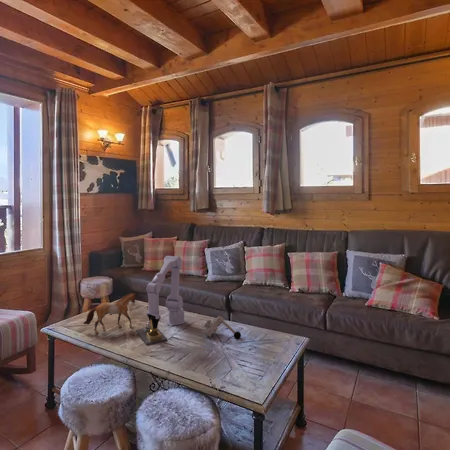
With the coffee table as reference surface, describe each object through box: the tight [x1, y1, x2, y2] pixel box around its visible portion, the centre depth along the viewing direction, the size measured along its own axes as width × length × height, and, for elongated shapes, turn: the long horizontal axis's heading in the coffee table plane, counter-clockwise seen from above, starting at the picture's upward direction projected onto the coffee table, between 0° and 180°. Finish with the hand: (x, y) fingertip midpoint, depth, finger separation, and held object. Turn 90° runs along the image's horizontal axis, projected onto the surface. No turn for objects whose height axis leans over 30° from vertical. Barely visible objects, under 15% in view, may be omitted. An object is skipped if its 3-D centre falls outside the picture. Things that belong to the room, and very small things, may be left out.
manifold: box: [135, 321, 168, 346], centre depth 188 cm, size 12×21×6 cm, turn 31°
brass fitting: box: [149, 319, 159, 334], centre depth 183 cm, size 4×4×8 cm
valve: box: [203, 315, 242, 340], centre depth 188 cm, size 10×20×15 cm
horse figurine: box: [82, 292, 137, 334], centre depth 195 cm, size 31×8×21 cm, turn 117°
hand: (153, 327), depth 183 cm, fingers closed on brass fitting, 4 cm apart
